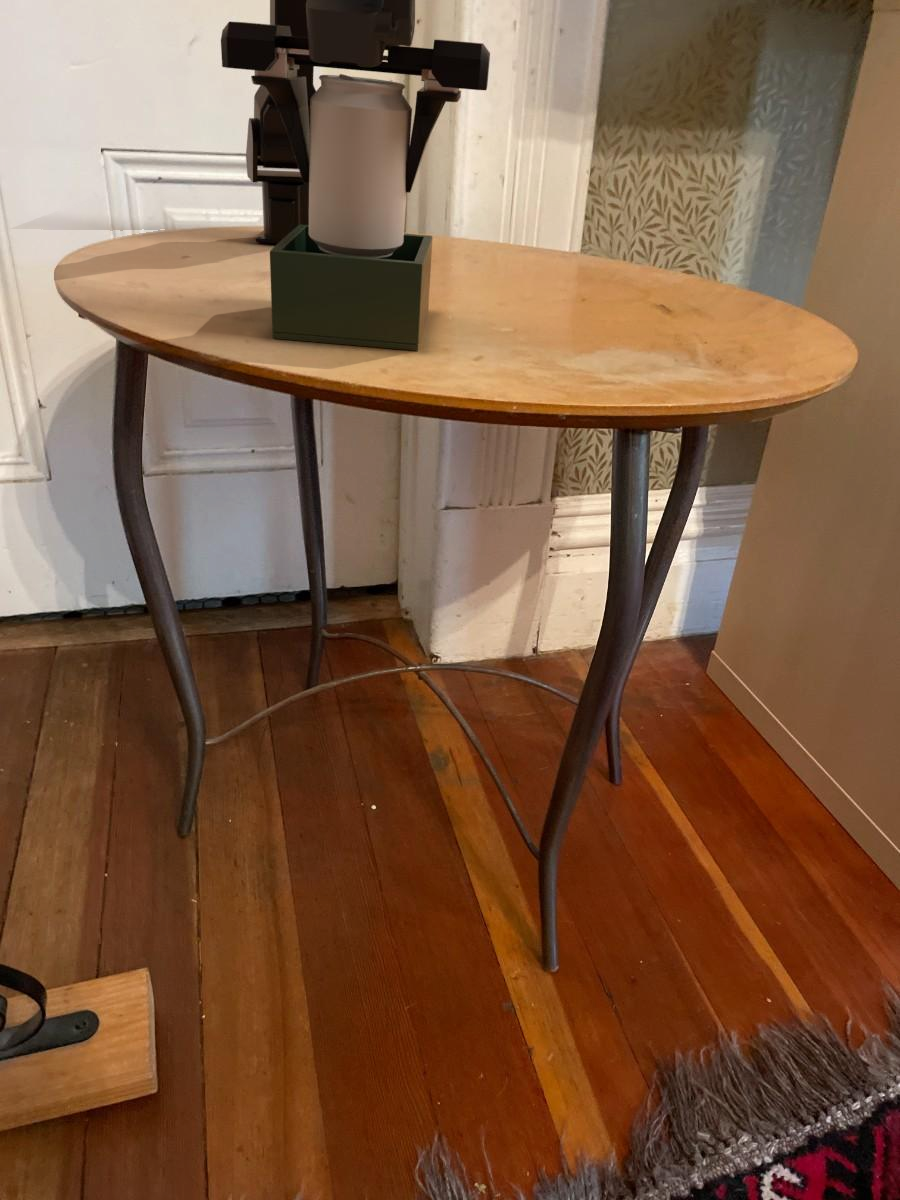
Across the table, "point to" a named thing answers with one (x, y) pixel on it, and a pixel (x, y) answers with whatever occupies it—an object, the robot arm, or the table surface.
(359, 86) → the can
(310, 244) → the bin
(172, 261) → the table surface
